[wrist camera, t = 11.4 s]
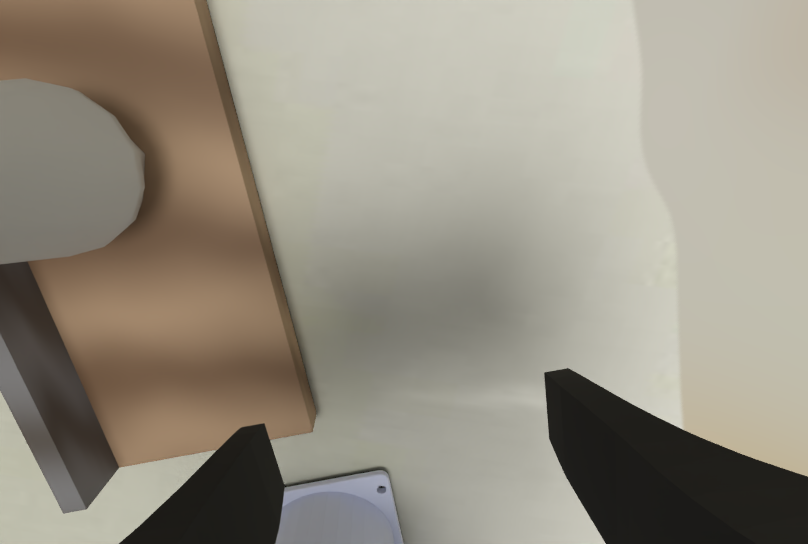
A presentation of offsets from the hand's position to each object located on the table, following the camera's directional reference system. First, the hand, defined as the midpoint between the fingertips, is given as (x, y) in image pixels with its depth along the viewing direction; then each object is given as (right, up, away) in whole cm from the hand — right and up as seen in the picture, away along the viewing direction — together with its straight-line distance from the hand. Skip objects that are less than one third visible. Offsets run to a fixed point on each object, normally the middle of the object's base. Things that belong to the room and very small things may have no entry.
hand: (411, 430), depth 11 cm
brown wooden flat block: (-12, +5, +9) cm, 15 cm away
